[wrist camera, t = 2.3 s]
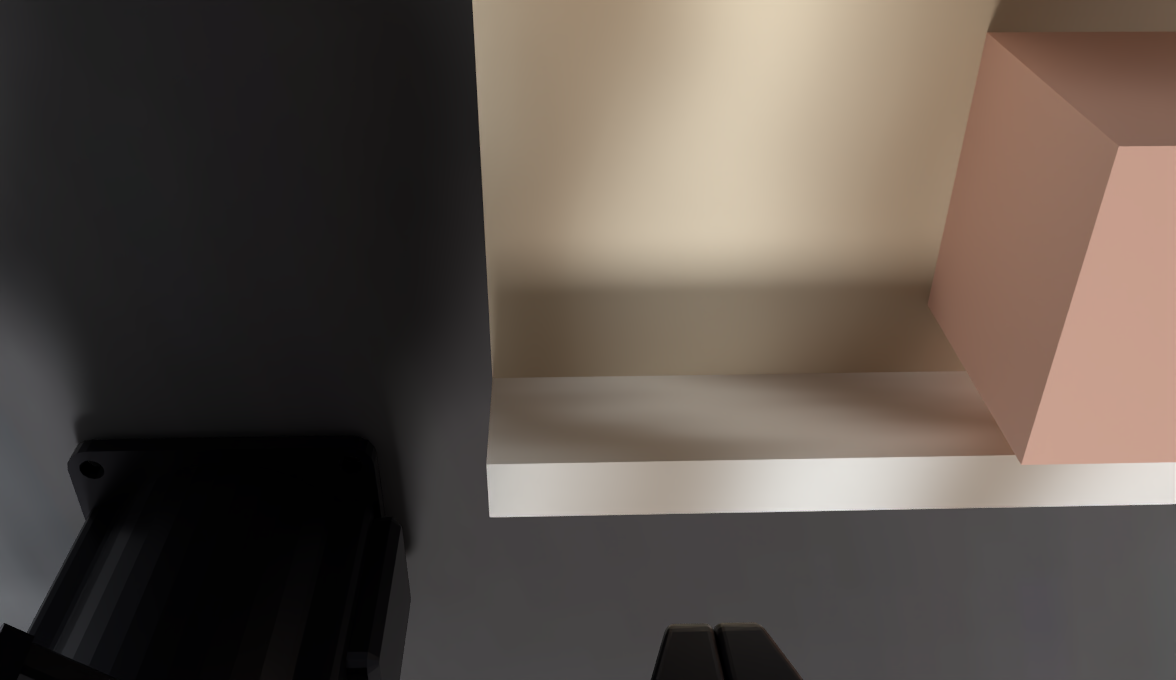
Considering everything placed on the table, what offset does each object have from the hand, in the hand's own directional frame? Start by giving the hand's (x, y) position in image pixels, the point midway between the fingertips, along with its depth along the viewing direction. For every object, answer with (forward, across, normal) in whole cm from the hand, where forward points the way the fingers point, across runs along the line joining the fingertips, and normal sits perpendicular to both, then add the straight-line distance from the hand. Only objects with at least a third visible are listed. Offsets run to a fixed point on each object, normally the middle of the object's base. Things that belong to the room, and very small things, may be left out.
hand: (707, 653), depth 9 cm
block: (+10, -8, 0) cm, 13 cm away
